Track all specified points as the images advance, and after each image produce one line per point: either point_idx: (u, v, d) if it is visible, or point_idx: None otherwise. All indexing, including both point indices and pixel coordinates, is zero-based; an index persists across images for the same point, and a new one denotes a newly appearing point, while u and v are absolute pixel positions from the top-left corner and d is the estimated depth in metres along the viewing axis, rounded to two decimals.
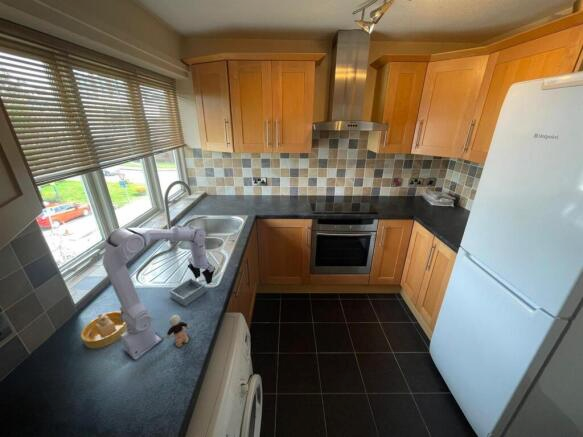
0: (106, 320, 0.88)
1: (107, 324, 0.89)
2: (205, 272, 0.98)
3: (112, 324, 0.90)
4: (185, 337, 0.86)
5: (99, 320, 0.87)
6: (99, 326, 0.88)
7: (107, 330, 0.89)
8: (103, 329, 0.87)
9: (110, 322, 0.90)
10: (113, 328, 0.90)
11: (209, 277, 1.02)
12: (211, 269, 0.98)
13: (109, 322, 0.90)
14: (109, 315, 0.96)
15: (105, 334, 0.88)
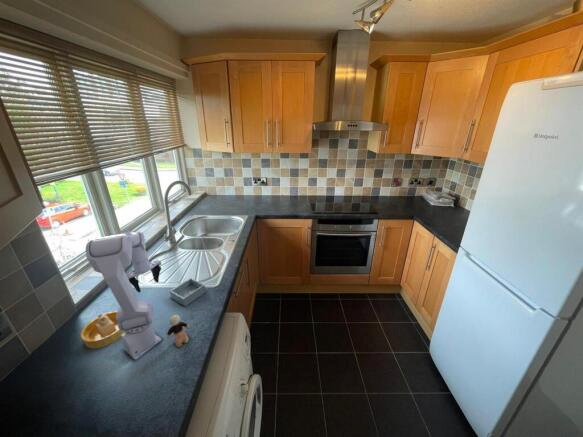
0: (106, 320, 0.88)
1: (107, 324, 0.89)
2: (158, 267, 1.02)
3: (112, 324, 0.90)
4: (185, 337, 0.86)
5: (99, 320, 0.87)
6: (99, 326, 0.88)
7: (107, 330, 0.89)
8: (103, 329, 0.87)
9: (110, 322, 0.90)
10: (113, 328, 0.90)
11: None
12: None
13: (109, 322, 0.90)
14: (109, 315, 0.96)
15: (105, 334, 0.88)
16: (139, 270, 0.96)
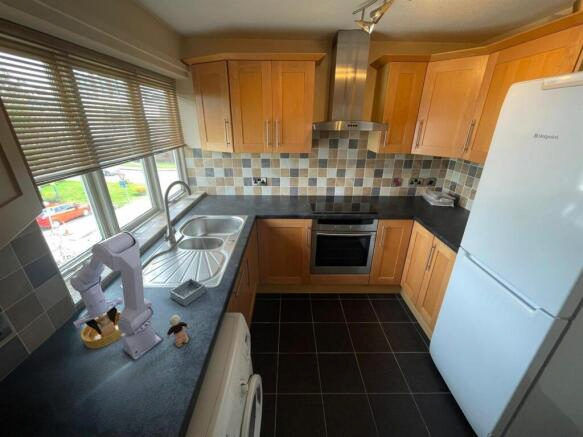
0: (106, 320, 0.88)
1: (107, 324, 0.89)
2: (113, 310, 0.89)
3: (112, 324, 0.90)
4: (185, 337, 0.86)
5: (99, 320, 0.87)
6: (99, 326, 0.88)
7: (107, 330, 0.89)
8: (103, 329, 0.87)
9: (110, 322, 0.90)
10: (113, 328, 0.90)
11: None
12: None
13: (109, 322, 0.90)
14: None
15: (104, 334, 0.88)
16: (93, 313, 0.84)
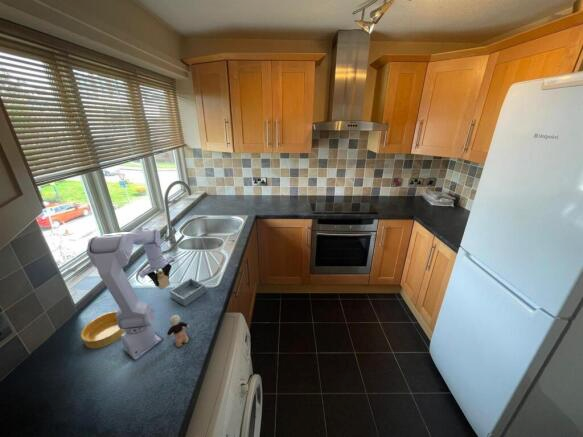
0: (162, 274, 1.03)
1: (163, 278, 1.03)
2: (168, 266, 1.04)
3: (167, 278, 1.04)
4: (185, 337, 0.86)
5: (157, 273, 1.01)
6: None
7: (163, 283, 1.03)
8: (160, 281, 1.01)
9: (165, 276, 1.04)
10: (168, 282, 1.04)
11: None
12: None
13: (164, 276, 1.04)
14: (109, 315, 0.96)
15: (161, 286, 1.02)
16: (154, 266, 0.98)
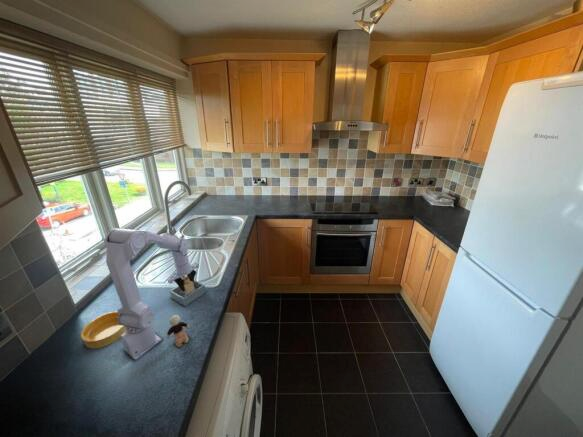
0: (188, 280, 1.07)
1: (188, 283, 1.08)
2: (193, 272, 1.08)
3: (192, 283, 1.08)
4: (185, 337, 0.86)
5: (183, 279, 1.06)
6: None
7: (189, 288, 1.07)
8: (186, 287, 1.06)
9: (190, 282, 1.08)
10: (192, 287, 1.09)
11: None
12: None
13: (189, 282, 1.08)
14: (109, 315, 0.96)
15: (187, 291, 1.07)
16: (181, 272, 1.03)
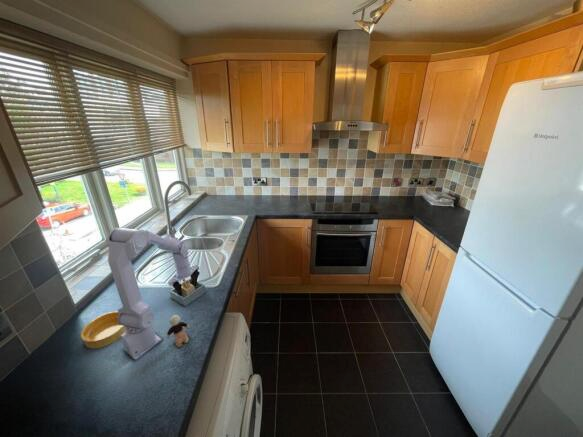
0: (189, 283, 1.08)
1: (189, 287, 1.08)
2: (197, 272, 1.10)
3: (193, 287, 1.09)
4: (185, 337, 0.86)
5: (184, 283, 1.07)
6: (183, 288, 1.08)
7: (190, 291, 1.08)
8: (187, 290, 1.07)
9: (191, 285, 1.09)
10: (193, 290, 1.10)
11: None
12: None
13: (190, 285, 1.09)
14: (109, 315, 0.96)
15: (188, 294, 1.08)
16: (182, 275, 1.03)
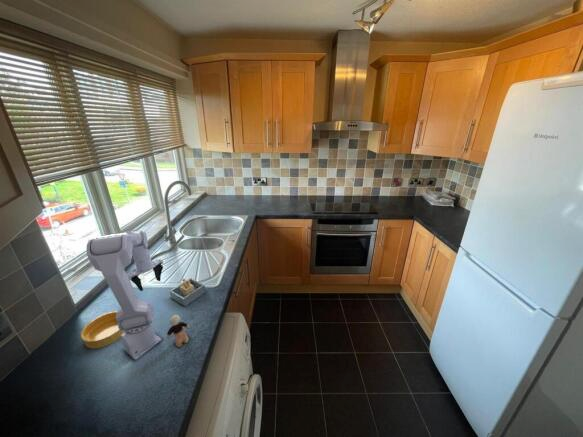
0: (189, 283, 1.08)
1: (189, 287, 1.08)
2: (160, 266, 1.03)
3: (193, 287, 1.09)
4: (185, 337, 0.86)
5: (184, 283, 1.07)
6: (183, 288, 1.08)
7: (190, 291, 1.08)
8: (187, 290, 1.07)
9: (191, 285, 1.09)
10: (193, 290, 1.10)
11: None
12: None
13: (190, 285, 1.09)
14: (109, 315, 0.96)
15: (188, 294, 1.08)
16: (141, 269, 0.96)
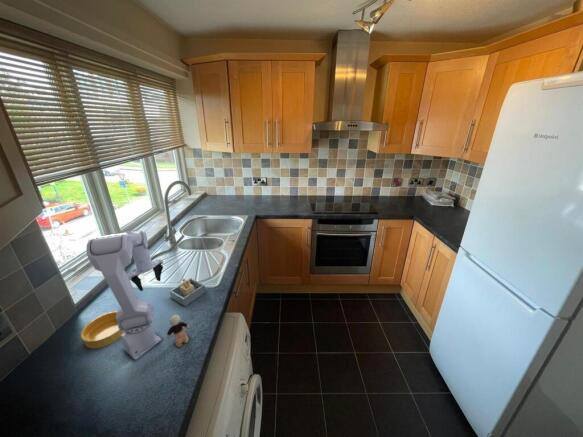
0: (189, 283, 1.08)
1: (189, 287, 1.08)
2: (160, 266, 1.03)
3: (193, 287, 1.09)
4: (185, 337, 0.86)
5: (184, 283, 1.07)
6: (183, 288, 1.08)
7: (190, 291, 1.08)
8: (187, 290, 1.07)
9: (191, 285, 1.09)
10: (193, 290, 1.10)
11: None
12: None
13: (190, 285, 1.09)
14: (109, 315, 0.96)
15: (188, 294, 1.08)
16: (141, 269, 0.96)
